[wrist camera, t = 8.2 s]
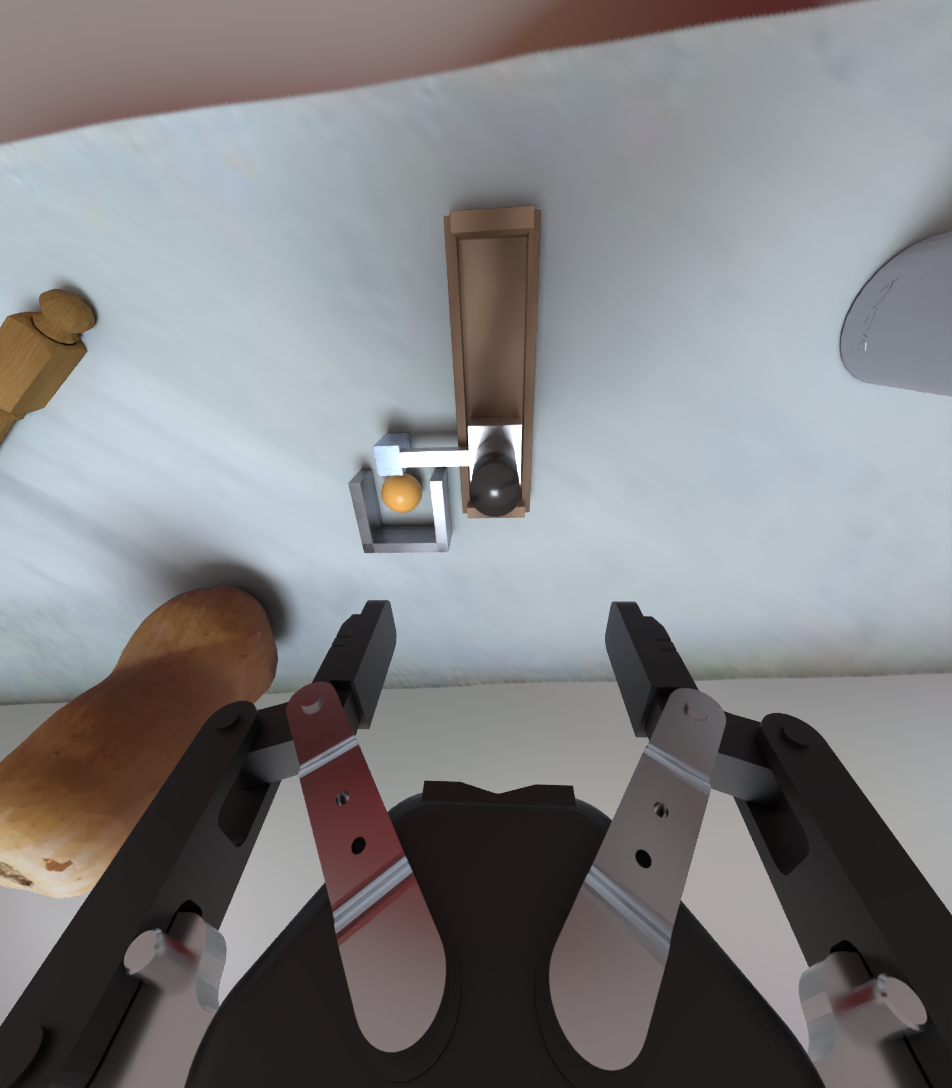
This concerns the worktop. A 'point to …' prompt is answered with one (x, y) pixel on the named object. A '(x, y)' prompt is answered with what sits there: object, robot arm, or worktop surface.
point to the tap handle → (39, 353)
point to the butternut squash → (126, 738)
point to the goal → (401, 537)
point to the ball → (401, 492)
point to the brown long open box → (494, 325)
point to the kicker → (467, 461)
